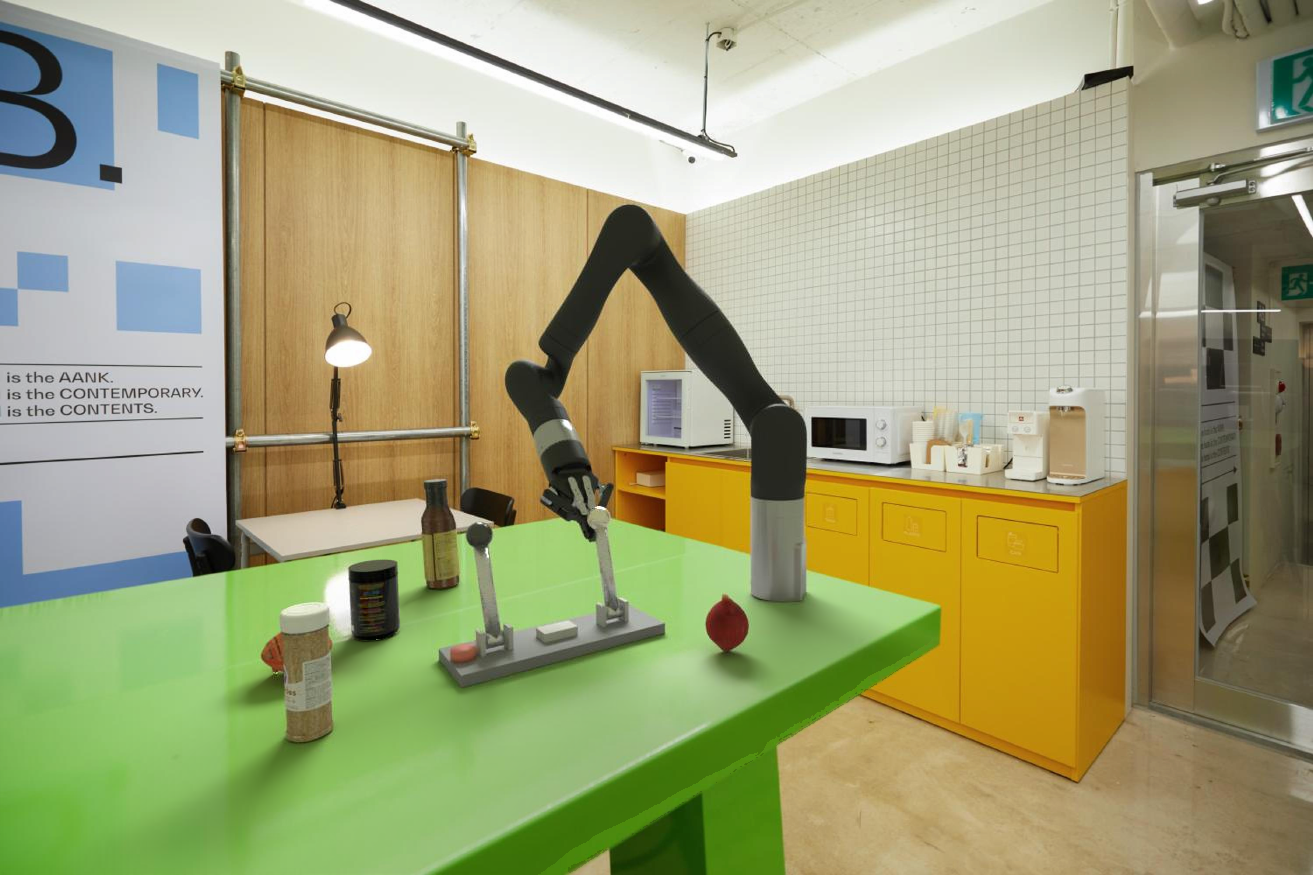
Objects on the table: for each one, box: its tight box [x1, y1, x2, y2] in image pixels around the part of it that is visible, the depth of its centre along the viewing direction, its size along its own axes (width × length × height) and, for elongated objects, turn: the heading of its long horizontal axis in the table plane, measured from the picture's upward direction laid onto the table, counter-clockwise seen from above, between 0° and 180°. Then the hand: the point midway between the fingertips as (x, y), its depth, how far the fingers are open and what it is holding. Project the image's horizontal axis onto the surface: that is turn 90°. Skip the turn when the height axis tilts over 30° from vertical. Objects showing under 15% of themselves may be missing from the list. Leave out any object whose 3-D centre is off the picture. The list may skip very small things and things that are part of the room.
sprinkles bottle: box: [279, 601, 335, 743], centre depth 66 cm, size 5×5×14 cm
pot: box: [260, 630, 333, 673], centre depth 81 cm, size 8×8×7 cm
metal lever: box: [587, 505, 623, 620], centre depth 95 cm, size 4×4×17 cm
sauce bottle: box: [420, 478, 461, 590], centre depth 118 cm, size 7×6×20 cm
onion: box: [704, 593, 750, 653], centre depth 86 cm, size 6×6×8 cm
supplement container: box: [347, 559, 401, 641], centre depth 94 cm, size 7×7×10 cm
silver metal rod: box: [465, 521, 506, 649], centre depth 85 cm, size 4×4×17 cm
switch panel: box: [438, 597, 666, 688], centre depth 89 cm, size 10×30×4 cm, turn 124°
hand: (596, 538), depth 97 cm, fingers closed
